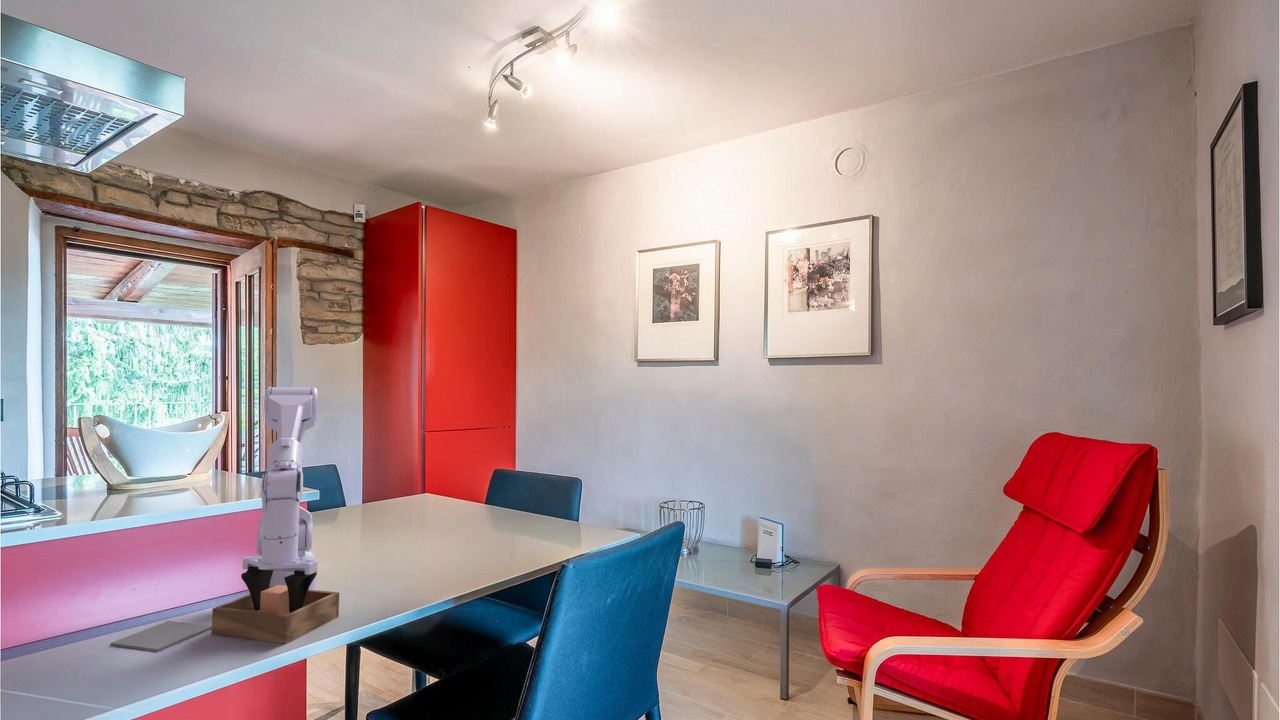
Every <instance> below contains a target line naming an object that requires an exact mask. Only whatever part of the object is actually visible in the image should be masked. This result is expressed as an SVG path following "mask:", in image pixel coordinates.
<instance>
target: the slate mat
mask: <svg viewBox="0 0 1280 720" xmlns="http://www.w3.org/2000/svg"><path fill="white" fill-rule="evenodd" d="M210 630H212V625H210V624H200V623H192V622H191V623H190V622H185V621H175V620H166V621H164V622H162V623H158V624H157V625H154V626H151V627H149V628H146V629H142V630H140V631H137V632H135V633H133V634H130V635H127V636H125V637H123V638H120V639H117V640H114V641H112V642H110V646H112V647H113V646H114V647H121V648H129V649H136V650H142V651H151V652H156V653H157V652H160V651H163V650H165V649H167V648H170V647H173V646H175V645H177V644H179V643H181V642H184V641H186V640H188V639H191V638H194V637H196V636H198V635H201V634H203V633H205V632H208V631H210Z"/></svg>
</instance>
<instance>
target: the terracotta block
mask: <svg viewBox="0 0 1280 720" xmlns="http://www.w3.org/2000/svg"><path fill="white" fill-rule="evenodd" d="M260 612H268V613H277V614H286V615H287V614H290V612H289V594H288V589H287V586H286V585H277V586H274V587H272V588H269V589H266V590H264V591H261V598H260Z"/></svg>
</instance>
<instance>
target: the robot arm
mask: <svg viewBox="0 0 1280 720" xmlns="http://www.w3.org/2000/svg"><path fill="white" fill-rule="evenodd" d="M318 391H319V390H318V389H317V388H316V386H312V387H302V386H301V387H299V386H295V387H294V386H292V387H286V386H283V387H282V386H281V387H279V386H277V387H276V386H274V387H273V386H267V388H266V389H265V390H264V397H263V400H264V402H263V406H264V407H263V411H264V412H263V413H264V416H265V423H266V424H267V425H266V426H267V428H269V429H271V430H273V431H276V435H277V436H276V438H277V439H276V440H275V441H274V442H272V443H271V444H270V446H269V448H268V454H267V455H268V457H267V463H266V472H265V473H263V474H262V476H261V485H260V499H261V502H262V503H261V510H262V512H261V513H263V515H262V516H261V517H260V519H259V523H258V528H257V533H256V554H258V555H249V556H246V557H244V558H242V570H246V571H245V572H243V573H241V575H240V578H241V580H242V581H243V582H244V584H245V585H246V587H247V589H248V591H249V594H250V595H251V598H252V601H253V605H254V609H255V611H258V610H260V598H261V591H264V590H266V589H269V586H277V585H286V586H287V589H288V594H289V612H290V613H292V612H294V611H296V610H298V609H300V608H302V606H303V603H304V600H305V597H306V594H307V591H308V589H309V590H319V589H318V588H316V583H317V582H316V579H317V577H316V576H317V575H318V561H317V560H316V556H315V555H314V554H313V552H312V551H311V550H312V548H313V533H314V532H313V530H314V529H313V527H314V524H313V515H312V513H311V512H310V511H309V510H307V509H305V508H303V507H302V506H300V504H301V503H300V501H301V500H302V497H303V491H304V473H303V464H302V463H303V452H304V451H303V450H304V448H303V445H302V443H303V438H304V436H305V433H306V431H307V430H309V429H312V428H314V427H315V423H316V421H317V413H318V394H319V393H318Z"/></svg>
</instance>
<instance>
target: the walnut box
mask: <svg viewBox="0 0 1280 720" xmlns="http://www.w3.org/2000/svg"><path fill="white" fill-rule="evenodd" d="M272 587H274V586H269V588H272ZM211 611H212V615H211V617H212V618H211V626H212V629H211V635H213V636H221V637H229V638H230V637H231V638H238V639H244V640H245V639H246V640H255V641H262V642H270V643H278V644H279V643H280V644H289V643H290V642H292V641H294V640H296V639H298V638H300V637H302V636H304V635H305V634H308V633H310V632H311V631H315V629H317V628H319V627H321V626H323V625H325V624H327V623H329V622H331V621H333V620H334V619H336V618H337V619H338V617H339V615H340V612H339V611H340V592H336V591H327V590H319V589H318V590H309V589H308V591H307V594H306V597H305V600H304V603H303V606H302V608H300V609H298V610H296V611H294V612H292V613H290V614H287V615H286V614H277V613H268V612H260V610H258V611H255V609H254V605H253V601H252V598H251V595H250V593H249V594H246V595H244V596H241V597H239V598H236V599H233V600H230V601H228V602H225V603H224V604H220V605H218V606H216V607H212V610H211Z"/></svg>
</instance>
